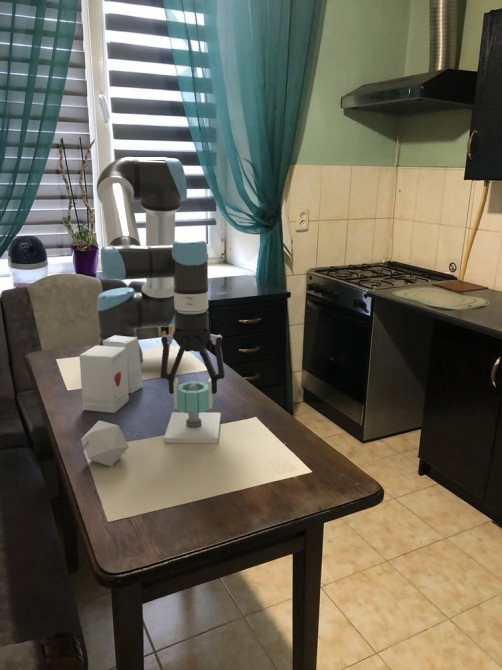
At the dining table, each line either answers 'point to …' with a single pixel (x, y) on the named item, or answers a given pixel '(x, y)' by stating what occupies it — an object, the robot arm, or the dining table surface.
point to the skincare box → (129, 359)
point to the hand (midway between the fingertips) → (193, 406)
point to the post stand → (193, 426)
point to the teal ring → (192, 398)
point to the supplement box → (104, 378)
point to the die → (104, 443)
